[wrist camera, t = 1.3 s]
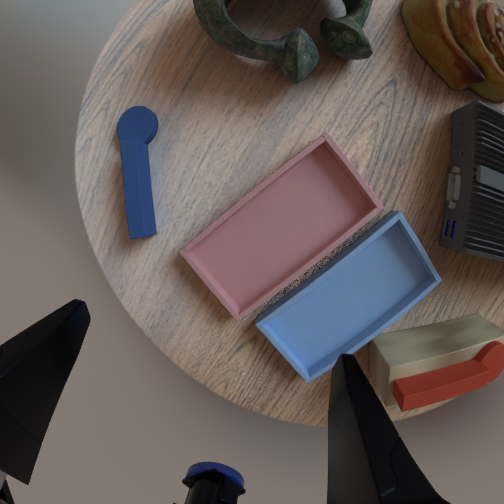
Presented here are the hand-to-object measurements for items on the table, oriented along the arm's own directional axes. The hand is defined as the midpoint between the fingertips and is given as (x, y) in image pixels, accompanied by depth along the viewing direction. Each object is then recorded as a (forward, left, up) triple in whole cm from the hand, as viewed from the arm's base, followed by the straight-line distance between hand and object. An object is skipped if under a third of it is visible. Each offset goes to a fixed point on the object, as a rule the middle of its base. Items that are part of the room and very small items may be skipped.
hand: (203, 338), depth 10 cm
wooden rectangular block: (+8, -18, -17) cm, 26 cm away
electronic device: (+24, -11, -17) cm, 31 cm away
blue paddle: (-3, +12, -17) cm, 20 cm away
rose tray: (+3, 0, -17) cm, 17 cm away
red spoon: (+8, -18, -11) cm, 22 cm away
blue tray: (+4, -8, -17) cm, 19 cm away
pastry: (+32, +3, -17) cm, 36 cm away
